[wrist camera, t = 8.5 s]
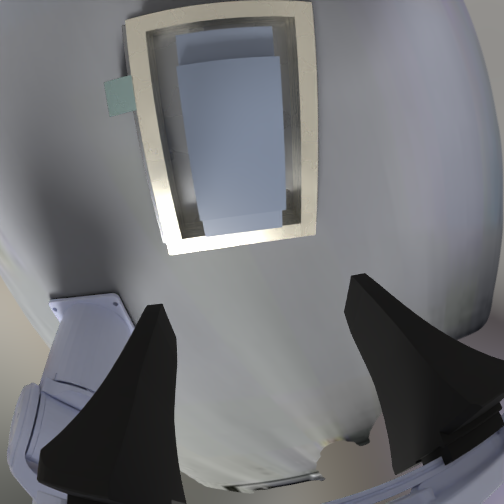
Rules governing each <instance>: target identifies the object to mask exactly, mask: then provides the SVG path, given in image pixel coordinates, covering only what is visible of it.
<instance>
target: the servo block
mask: <svg viewBox="0 0 504 504" xmlns="http://www.w3.org/2000/svg"><path fill="white" fill-rule="evenodd" d="M175 36H176V46H177V55H178V64H179V66H176V68H177V76H178V84H179V92H180V100H181V107H182V114H183V121H184V128H185V134H186V141H187V147H188V154H189V160H190V166H191V172H192V178H193V184H194V189H195V195H196V201H197V206H198V212H199V217H200V221H202V222H203V227H204V232H205V238H207V237H214V236H221V235H228V234H235V233H242V232H250V231H257V230H265V229H273V228H280V227H282V210H286V178H285V148H284V124H283V104H282V86H281V70H280V56H274V44H273V32H272V26H262V27H240V28H227V29H217V30H208V31H200V32H193V33H187V34H181V35H175Z"/></svg>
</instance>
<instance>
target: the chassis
mask: <svg viewBox="0 0 504 504" xmlns="http://www.w3.org/2000/svg"><path fill="white" fill-rule="evenodd" d="M262 26H272V32H273V44H274V56H280V70H281V86H282V104H283V124H284V148H285V178H286V210H282V227H280V228H273V229H265V230H257V231H250V232H242V233H235V234H228V235H221V236H214V237H207V238H205V232H204V227H203V222H202V221H200V217H199V212H198V206H197V201H196V195H195V189H194V184H193V178H192V172H191V166H190V160H189V154H188V147H187V141H186V134H185V128H184V121H183V114H182V107H181V100H180V92H179V84H178V76H177V68H176V66H179V64H178V55H177V46H176V36H175V35H181V34H187V33H193V32H200V31H208V30H217V29H227V28H240V27H262ZM122 32H123V42H124V51H125V60H126V67H127V75H128V76H125V77H121V78H118V79H114V80H111V81H108V82H104V86H105V93H106V99H107V104H108V110H109V115H110V117H112V116H115V115H119V114H123V113H127V112H131V111H133V113H134V119H135V124H136V129H137V135H138V140H139V145H140V150H141V154H142V159H143V164H144V168H145V173H146V177H147V181H148V186H149V190H150V194H151V198H152V202H153V206H154V210H155V214H156V218H157V221H158V225H159V229H160V232H161V236H162V240H163V243H165V242H166V243H167V246H168V250H169V253H170V255H173V254H180V253H187V252H194V251H201V250H208V249H215V248H222V247H230V246H237V245H244V244H251V243H259V242H266V241H273V240H281V239H288V238H296V237H303V236H311V235H316V222H317V199H318V153H319V126H318V81H317V59H316V42H315V28H314V16H313V6H312V2H304V1H284V0H251V1H231V2H219V3H209V4H201V5H194V6H187V7H181V8H175V9H170V10H165V11H160V12H156V13H151V14H147V15H143V16H139V17H135V18H131V19H128V20H125V25H122Z"/></svg>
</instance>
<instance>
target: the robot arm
mask: <svg viewBox="0 0 504 504" xmlns="http://www.w3.org/2000/svg"><path fill="white" fill-rule="evenodd" d="M115 302H117V303H115ZM49 306H50V308H51V309H52V311H53V312H54V314H55V316H56V317H57V319H58V320H59V322H60V325H59V328H58V330H57V333H56V336H55V338H54V341H53V344H52V347H51V350H50V353H49V356H48V359H47V362H46V365H45V368H44V372H43V375H42V378H41V382H40V384H39V385H37V384H35V383H31V384H29V385H26V386H24V387H23V389H22V391H21V394H20V396H19V399H18V402H17V405H16V408H15V411H14V415H13V419H12V424H11V428H10V435H9V445H8V450H7V461H8V464H9V467H10V471H11V473H12V474H13V476H14V477H15V478H16V480H17V481H18V482H19V483H20V484H21V485H22V487H23V488H24V489H25V490H26V491H27V492H28V494H29V495H30V496H31V497H32V498H33V502H32V504H186V500H185V495H184V491H183V486H182V481H181V475H180V469H179V463H178V455H177V447H176V437H175V424H174V405H175V388H176V373H177V342H176V336H175V334H174V331H173V329H172V326H171V324H170V322H169V319H168V317H167V314H166V312H165V309H164V307H163V304H155V305H147V306H146V308H145V310H144V311H143V313H142V315H141V317H140V319H139V321H138V323H137V325H136V327H134V325H133V323H132V321H131V319H130V317H129V315H128V313H127V311H126V309H125V307H124V305H123V303H122V301H121V299H120V297H119V296H118V295H117V294H115V293H109V294H100V295H91V296H81V297H72V298H62V299H52V300H50V301H49ZM344 313H345V316H346V320H347V323H348V326H349V329H350V332H351V334H352V336H353V339H354V341H355V343H356V345H357V347H358V349H359V351H360V354H361V356H362V358H363V360H364V362H365V364H366V366H367V369H368V371H369V373H370V375H371V377H372V380H373V382H374V385H375V388H376V391H377V394H378V398H379V401H380V404H381V408H382V412H383V416H384V419H385V424H386V429H387V433H388V438H389V444H390V450H391V458H392V467H393V470H394V473H395V475H397V474H399V473H402V472H404V471H406V470H408V469H411V468H413V467H415V466H417V465H419V464H421V463H423V466H422V467H420V468H418V469H416V470H414V471H411V472H409V473H407V474H405V475H403V476H401V477H398V478H396V479H394V480H391V481H389V482H386V483H384V484H381V485H379V486H376V487H373V488H371V489H368V490H365V491H362V492H360V493H357V494H353V495H350V496H347V497H344V498H341V499H337V500H333V501H330V502H326V503H322V504H374V503H377V502H380V501H382V500H385V499H387V498H390V497H392V496H394V495H396V494H399V493H401V492H403V491H405V490H408V489H410V488H412V487H413V488H412V489H411V492H410V494H408V495H404V496H402V497H399V498H397V499H394V500H392V501H389V502H387V503H385V504H482V503H483V502H484V501H485V500H486V499H487V498H488V497H489V496H490V495H491V494H492V493H493V492H494V491H495V490H496V489H497V488H498V487H499V486H500V485H501V484H502V483H503V482H504V414H503V415H500V413H499V411H500V410H501V409H502V406H501V404H500V401H501V400H502V399H503V398H504V360H501V359H497V358H495V357H491V356H489V355H487V354H484V353H482V352H479V351H477V350H475V349H473V348H470V347H468V346H466V345H464V344H463V343H461V342H459V341H457V340H455V339H453V338H451V337H450V336H448V335H446V334H445V333H443V332H442V331H440V330H438V329H437V328H435V327H434V326H432V325H431V324H429V323H428V322H426V321H425V320H423V319H422V318H421V317H419V316H418V315H417V314H415V313H414V312H413V311H411V310H410V309H409V308H407V307H406V306H405V305H404V304H402V303H401V302H400V301H399V300H397V299H396V298H395V297H394V296H392V295H391V294H390V293H389V292H388V291H386V290H385V289H384V288H383V287H381V286H380V285H379V284H378V283H377V282H375V281H374V280H373V279H372V278H370V277H369V276H368V275H367V274H365V273H364V274H358V275H353V276H351V279H350V285H349V290H348V295H347V300H346V305H345V310H344Z"/></svg>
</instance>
